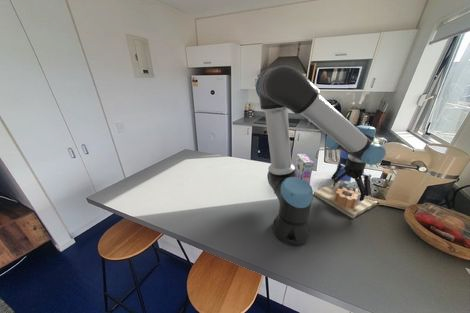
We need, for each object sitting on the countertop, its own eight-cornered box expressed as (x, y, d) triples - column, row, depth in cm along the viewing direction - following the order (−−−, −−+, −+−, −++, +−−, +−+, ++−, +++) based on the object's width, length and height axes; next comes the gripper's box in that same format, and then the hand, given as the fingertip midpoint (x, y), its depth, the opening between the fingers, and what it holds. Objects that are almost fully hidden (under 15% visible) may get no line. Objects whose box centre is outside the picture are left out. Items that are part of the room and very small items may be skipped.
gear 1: (352, 197, 93) (355, 189, 91) (332, 191, 99) (334, 183, 97) (355, 189, 100) (358, 181, 98) (336, 183, 106) (338, 176, 104)
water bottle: (354, 180, 113) (364, 144, 103) (343, 183, 110) (353, 146, 100) (341, 174, 121) (350, 139, 111) (331, 176, 118) (339, 141, 108)
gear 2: (348, 210, 84) (350, 201, 82) (329, 199, 92) (331, 191, 90) (360, 204, 88) (363, 195, 86) (341, 194, 96) (343, 186, 95)
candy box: (309, 186, 107) (314, 162, 101) (299, 186, 107) (303, 162, 101) (302, 175, 120) (305, 153, 113) (293, 175, 120) (296, 153, 114)
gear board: (352, 218, 82) (356, 204, 79) (313, 194, 100) (316, 182, 97) (379, 203, 92) (384, 190, 89) (340, 183, 110) (343, 172, 107)
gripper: (391, 167, 73) (375, 209, 82) (338, 150, 92) (329, 185, 101) (381, 171, 70) (366, 215, 78) (328, 152, 89) (321, 189, 98)
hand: (345, 198), depth 90 cm, fingers open, 11 cm apart
